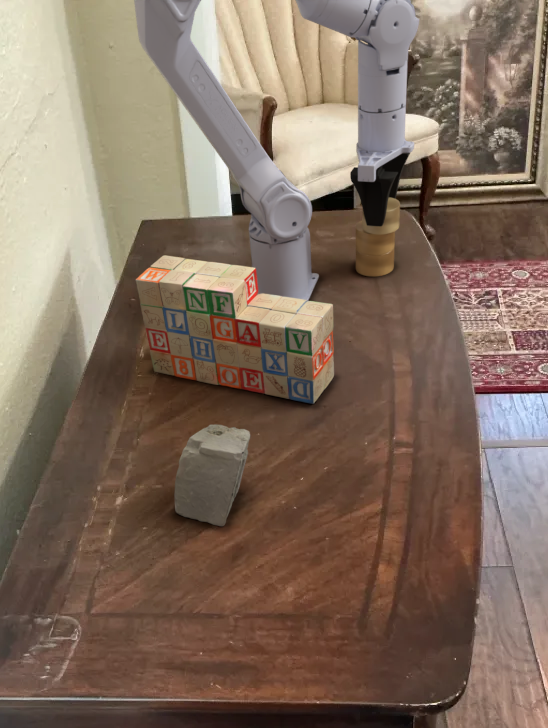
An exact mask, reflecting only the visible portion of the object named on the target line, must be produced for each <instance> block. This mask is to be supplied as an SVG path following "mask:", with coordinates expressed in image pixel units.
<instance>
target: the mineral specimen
mask: <svg viewBox="0 0 548 728" xmlns="http://www.w3.org/2000/svg"><path fill="white" fill-rule="evenodd" d="M250 440H251V431H249V430H247V429H246V428H240V429H239V428H236V427H235V426H233V427H228V426H226V425H223V424H209V425H208V426H207V427H204V428H202V429H201V430H199V431H197V432H196V433H193V434H192V435H191V436H190V437H189V438H188V440H187V442H186V445H185V447H184V448H183V449H182V451H181V456H180V457H179V460H178V468H177V471H176V476H175V481H174V495H173V496H174V511H175V513H176V514H178V515H179V516H182V517H184V518H189V519H191V520H197V521H199V522H204V523H209V524H211V525H213V526H217V527H218V526H219V527H224V526H225V524H226V523H227V518H228V516H229V513H230V511H231V509H232V505H233V502H235V498H236V497H237V495H238V492H239V490H240V486H241V482H242V477H243V474H244V470H245V467H246V463H247V458H248V455H249V450H248V448H249V442H250Z"/></svg>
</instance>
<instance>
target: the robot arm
mask: <svg viewBox="0 0 548 728" xmlns="http://www.w3.org/2000/svg"><path fill="white" fill-rule="evenodd" d="M201 1H202V0H133V4H134V11H135V19H136V20H135V21H136V27H137V37H138V41H139V43H140V46H141V48H142V50H143V51H144V52H145V53H146V56H148V58H149V59H150V61H151V62H152V64H153V65H154V67H155V68H156V70H157V71H158V72H159V74H160V75H161V76H162V78H163V79H164V81H165V82H166V83H167V84H168V86H169V87H170V89H171V90H172V92H173V93H174V94H175V96H176V97H177V99H178V100H179V101H180V103H181V104H182V106H183V107H184V108H185V110H186V111H187V113H188V114H189V115H190V117H191V118H192V120H193V121H194V123H195V124H196V125H197V127H198V129H200V131H201V132H202V134H203V135H204V136H205V138H206V139H207V141H208V142H209V143H210V145H211V147H212V148H213V149H214V151H215V152H216V154H217V155H218V156H219V158H220V159H221V160H222V162H223V163H224V165H225V167H226V168H227V169H228V171H230V173H231V176H232V179H234V181H235V182H236V184H237V186H238V188H239V192H240V199H241V203H242V205H243V207H244V208H245V210H246V211H247V212H248V213H250V221H249V224H248V237H249V247H250V258H251V267H253V268H256V273H257V283H258V294H270V295H278V296H282V297H290V298H297V299H304V300H307V301H310V299H311V296H312V293H313V291H314V290H315V287H316V285H317V282H318V280H319V278H320V275H319V273H315V272H312V247H311V244H312V243H311V232H310V229H309V227H308V226H309V225H310V222H311V220H312V216H313V205H312V202H311V200H310V198H309V196H308V195H307V194H306V192H304V191H303V190H301V189H299V188H298V187H297V186H296V185H295V184H293V182H292V181H290V179H289V178H287V176H286V175H285V174H284V173H283V171H282V170H281V169H280V168H278V166H277V165H276V163H274V161H273V160H272V158H270V156H269V155H268V153H267V152H266V150H265V149H264V147H263V146H262V144H261V143H260V140H258V138H257V137H256V135H255V134H254V132H253V131H252V129H251V128H250V126H249V124H248V123H247V121H246V120H245V118H244V117H243V115H242V114H241V112H240V111H239V110H238V108H237V107H236V105H235V104H234V102H233V101H232V99H231V97H230V96H229V94H228V93H227V91H226V90H225V88H224V87H223V86H222V84H221V82H220V81H219V80H218V77H217V76H216V75H215V73H214V72H213V70H212V69H211V68H210V66H209V65H208V63H207V62H206V59H204V57H203V56H202V54H201V52H200V51H199V49H198V48H197V46H196V45H195V44H194V42H193V41H192V38H191V35H192V29H193V25H194V19H195V15H196V11H197V9H198V7H199V5H200V3H201ZM295 3H296V5H297V9H298V11H299V14H300V16H301V17H302V18H303V19H304V20H307V21H308V22H312V23H314V24H317V25H319V26H322V27H324V28H327V29H329V30H331V31H335V32H337V33H338V34H341V35H344V36H346V37H349V38H355V40H357V142H356V147H355V148H356V149H355V150H356V156H357V160H358V164H357V167H353V168H352V169H351V171H350V175H349V176H350V181H351V183H352V185H353V186H354V188H355V190H356V192H357V195H358V197H359V200H360V203H361V207H362V214H363V213H364V217H365V221H366V224H367V226H382V225H383V223H384V220H385V216H386V211H387V204H388V198H389V197H390V198H394V199H397V194H398V190H399V186H400V185H399V184H400V181H401V177H402V175H403V174H402V173H403V171H404V167H405V165H406V163H407V161H408V158H409V156H410V154H411V153H412V152H413V151H414V149H415V142H414V141H408V140H406V116H407V115H406V113H407V87H408V86H407V85H408V61H409V48H410V46H411V44H412V42H413V41H414V39H415V37H416V35H417V32H418V29H419V25H420V18H418V17H417V16H416V10H415V6H414V4H413V3H412V0H295Z"/></svg>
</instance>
